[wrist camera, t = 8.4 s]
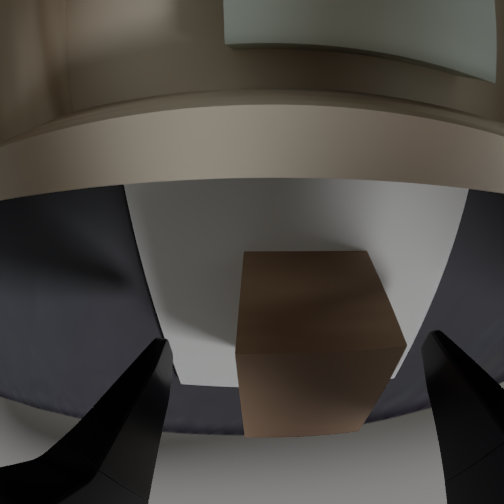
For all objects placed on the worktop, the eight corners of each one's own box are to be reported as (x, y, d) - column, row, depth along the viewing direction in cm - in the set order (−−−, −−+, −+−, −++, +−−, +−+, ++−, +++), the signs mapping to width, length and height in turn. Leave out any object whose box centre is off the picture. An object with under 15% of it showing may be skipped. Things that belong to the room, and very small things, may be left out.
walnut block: (366, 250, 10) (407, 345, 6) (342, 348, 12) (358, 431, 9) (243, 251, 10) (234, 353, 7) (248, 351, 13) (245, 437, 9)
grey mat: (467, 170, 8) (472, 173, 8) (392, 374, 14) (393, 378, 14) (124, 164, 9) (120, 167, 8) (182, 379, 15) (181, 384, 14)
